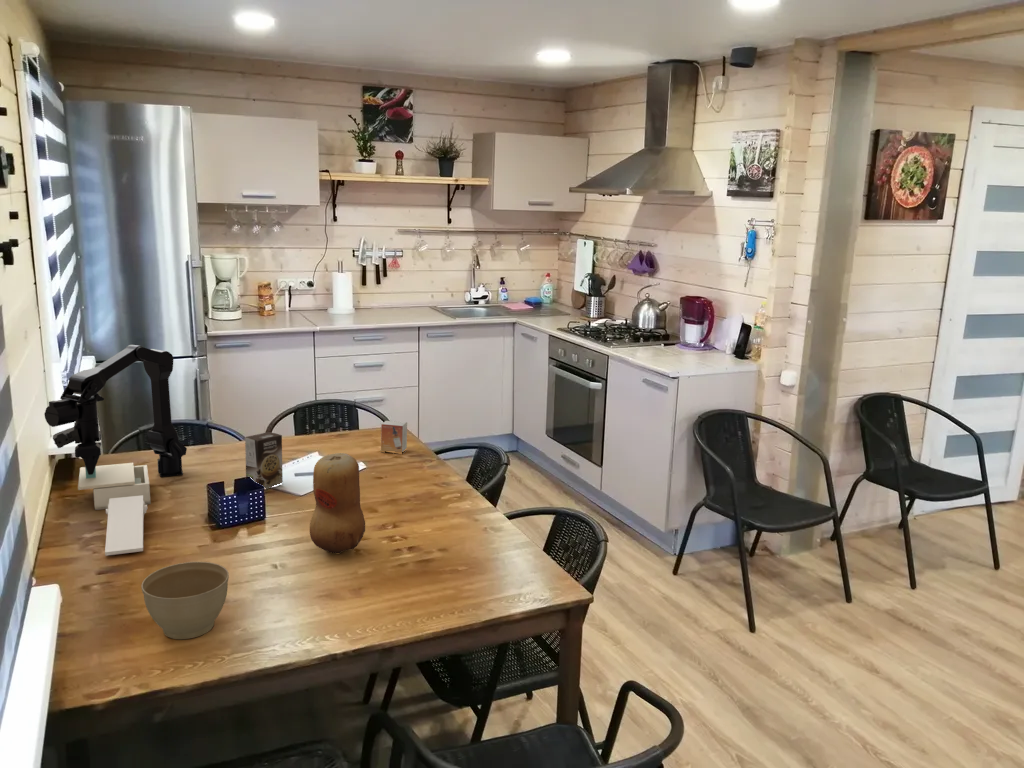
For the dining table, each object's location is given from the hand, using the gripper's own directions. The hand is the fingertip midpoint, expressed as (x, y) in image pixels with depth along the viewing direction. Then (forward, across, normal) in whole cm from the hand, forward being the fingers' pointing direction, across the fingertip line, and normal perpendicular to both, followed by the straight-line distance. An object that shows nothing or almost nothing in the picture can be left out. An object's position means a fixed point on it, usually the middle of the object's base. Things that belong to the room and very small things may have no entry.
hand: (90, 472), depth 227 cm
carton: (+8, 0, +8) cm, 11 cm away
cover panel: (+2, 0, +4) cm, 4 cm away
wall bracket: (+9, +30, +8) cm, 32 cm away
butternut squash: (+8, +59, +56) cm, 82 cm away
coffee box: (+9, +5, +47) cm, 48 cm away
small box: (+9, -17, +95) cm, 97 cm away
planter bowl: (+8, +85, +18) cm, 87 cm away
